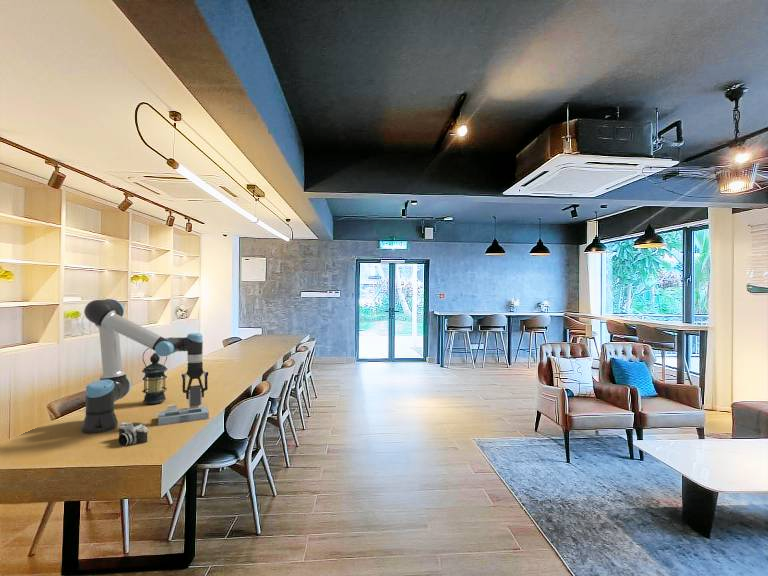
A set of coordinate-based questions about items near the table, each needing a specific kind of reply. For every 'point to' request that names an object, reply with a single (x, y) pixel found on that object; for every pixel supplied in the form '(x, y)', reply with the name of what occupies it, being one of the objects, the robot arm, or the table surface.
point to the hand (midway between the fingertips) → (195, 404)
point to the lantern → (154, 380)
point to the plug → (195, 395)
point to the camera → (132, 433)
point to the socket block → (182, 414)
